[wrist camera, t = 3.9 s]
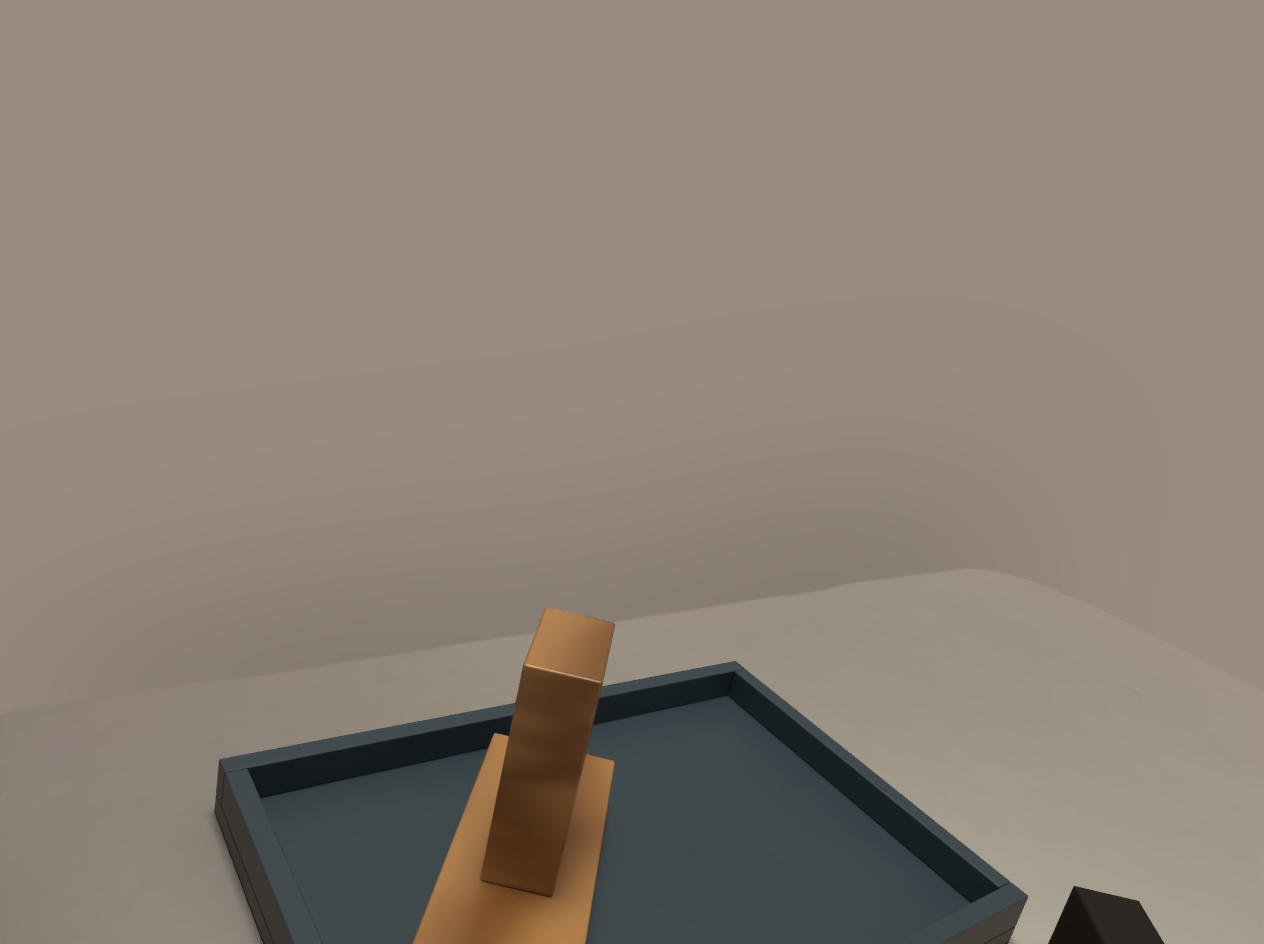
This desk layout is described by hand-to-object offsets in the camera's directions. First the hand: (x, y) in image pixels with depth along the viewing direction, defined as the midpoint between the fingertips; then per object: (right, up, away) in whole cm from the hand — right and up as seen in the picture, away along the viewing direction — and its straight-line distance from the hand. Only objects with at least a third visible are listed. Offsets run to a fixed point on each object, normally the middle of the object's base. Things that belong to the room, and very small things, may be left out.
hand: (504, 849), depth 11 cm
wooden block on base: (-3, -10, +21) cm, 24 cm away
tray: (+1, -11, +25) cm, 27 cm away
